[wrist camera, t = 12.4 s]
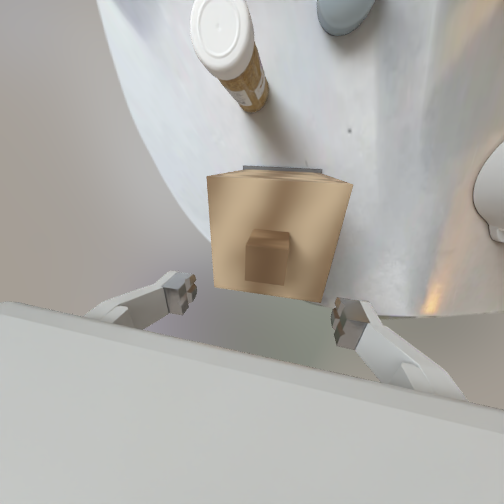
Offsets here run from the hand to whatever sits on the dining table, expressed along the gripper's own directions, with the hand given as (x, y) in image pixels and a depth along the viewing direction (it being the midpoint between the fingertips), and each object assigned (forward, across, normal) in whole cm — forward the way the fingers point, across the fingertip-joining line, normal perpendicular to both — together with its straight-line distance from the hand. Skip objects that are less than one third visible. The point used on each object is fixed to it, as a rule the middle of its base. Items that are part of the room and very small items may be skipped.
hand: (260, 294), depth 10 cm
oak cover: (+22, -1, 0) cm, 23 cm away
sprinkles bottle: (+23, -6, +15) cm, 28 cm away
